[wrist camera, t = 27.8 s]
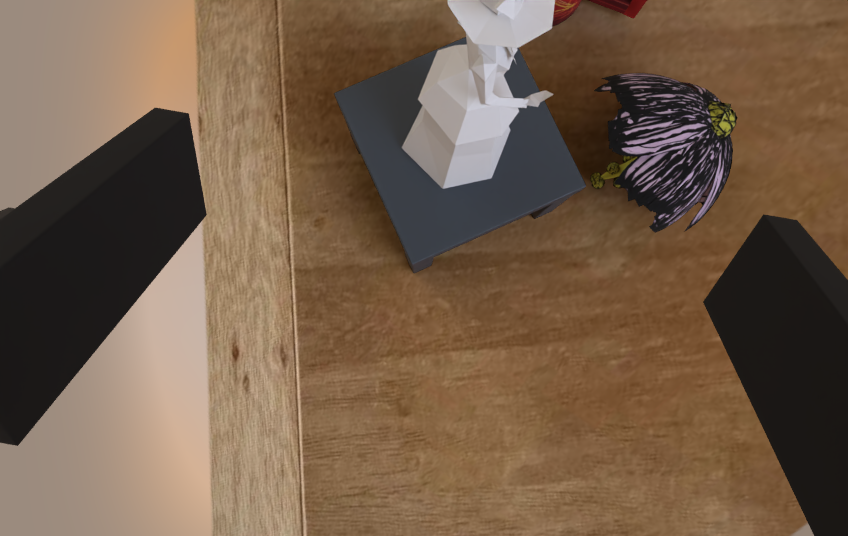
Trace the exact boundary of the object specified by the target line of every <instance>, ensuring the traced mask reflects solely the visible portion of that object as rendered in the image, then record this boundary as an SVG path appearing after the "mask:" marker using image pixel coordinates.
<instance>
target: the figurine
mask: <svg viewBox="0 0 848 536" xmlns="http://www.w3.org/2000/svg"><path fill="white" fill-rule="evenodd" d="M554 5H555V0H448V6H449V7H450V9H451V10H452V12H453V13H454V15H455V16H456V18H457V19H458V24H460V25H461V26H462V27H463V28H464V30H465V31H466V40H467V44H466V45H454V46H451V47H448V48H444V49H441V50H438V51H437V53H436V56H435V58H434V61H433V63H432V66H431V68H430V71H429V73H428V75H427V78H426V80H425V83H424V85H423V88H422V90H421V93H420V95H419V98H418V100H419V101H420V103H421V104H422V105H423V106H422V108H421V110H420V112H419V114H418V116H417V118H416V120H415V122H414V124H413V126H412V128H411V130H410V132H409V134H408V136H407V138H406V140H405V142H404V144H403V146H402V149H403V150H404V151H405V152H406V153H407V154H408V155H409V156H410V157H411V158H412V159H413V160H414V161H415V162H416V163H417V164H418V165H419V166H420V167H421V168H422V169H423V170H424V171H425V172H426V173H427V174H428V175H429V176H430V177H431V178H432V179H433V180H434V181H435V182H436V183H437V184H438V185H439V186H440V187H441V188H442V189H445V188H449V187H454V186H458V185H463V184H468V183H472V182H477V181H481V180H486V179H491V178H492V176H493V173H494V171H495V168H496V166H497V163H498V161H499V158H500V156H501V153H502V150H503V148H504V145H505V143H506V140H507V138H508V135H509V133H510V128H509V125H510V123H511V122H512V121H513V119H514V118H515V116H516V115H517V114H518V112H519V109H518V108H527V105H529V106H535V107H538V106H539V104H540V102H542V101H544V100H545V99H547V98H549V97H550V96H552V95H554V94H552V93H550V92H548V91H546V90H545V91H541V92H538V93H535V94H531V95H530V96H528V97H526V98H524V99H522V98H513V96H512V93H511V91H510V89H509V87H508V84H507V82H506V80H505V77H504V74H505V72H506V71H507V70H509V69H510V66H511V63H512V60H513V59H514V55H515V53H516V52H517V50H518V49H517V48H518V47H520V46H522V45H524V44H526V43H527V42H529V41H531V40H533V39H534V38H536V37H538V36H540V35H542V34H543V33H545V32H547V31H549V30H550V29H552V22H553V14H554ZM514 61H515V59H514ZM515 63H516V61H515Z"/></svg>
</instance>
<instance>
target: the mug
mask: <svg viewBox="0 0 848 536" xmlns="http://www.w3.org/2000/svg"><path fill="white" fill-rule="evenodd" d="M589 1H591V2H594V3H597V4H599V5H602V6H604V7H607V8H609V9H612V10H615V11H617V12H620V13H622V14H624V15H626V16H629V17H631V18H635V16H636V15H637V13H638V12H639V11H640V9H641V8H642V7H643V5H644V4H645V2H646V1H647V0H589ZM580 2H581V0H555V5H554V14H553V22H552V26H555V25H558V24H559V23H561V22H563V21H565V20H566V19H567V18H568V17H569V16H571V15H572V14H573V13H574V11H575V10H576V9H577V7H578V6H579V4H580Z"/></svg>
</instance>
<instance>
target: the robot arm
mask: <svg viewBox="0 0 848 536" xmlns="http://www.w3.org/2000/svg"><path fill="white" fill-rule="evenodd" d="M206 215H207V214H206V209H205V203H204V197H203V192H202V186H201V180H200V175H199V169H198V163H197V158H196V152H195V147H194V141H193V135H192V129H191V124H190V118H189V114H188V113H183V112H177V111H171V110H165V109H160V108H154V109H153V110H151V111H150V112H149V113H147V114H146V115H144V116H143V117H142V118H140V119H139V120H137V121H136V122H135V123H133V124H132V125H130V126H129V127H128V128H126V129H125V130H124V131H122V132H121V133H119V134H118V135H117V136H115V137H114V138H112V139H111V140H110V141H108V142H107V143H105V144H104V145H103V146H101V147H100V148H99V149H97V150H96V151H94V152H93V153H92V154H90V155H89V156H87V157H86V158H85V159H83V160H82V161H80V162H79V163H78V164H76V165H75V166H73V167H72V168H71V169H69V170H68V171H67V172H65V173H64V174H62V175H61V176H60V177H58V178H57V179H55V180H54V181H53V182H52V183H50V184H49V185H47V186H46V187H45V188H43V189H42V190H40V191H39V192H37V193H36V194H35V195H33V196H32V197H30V198H29V199H28V200H26V201H25V202H24V203H22V204H21V205H19V206H18V207H17V208H15V209H14V208H7V209H5V210H2V211H0V443H6V444H12V445H17V446H18V445H19V444H20V442H21V441H22V440H23V439H24V438H25V436H26V435H27V434H28V433H29V431H30V430H31V429H32V428H33V426H34V425H35V424H36V423H37V422H38V420H39V419H40V418H41V417H42V416H43V414H44V413H45V412H46V411H47V409H48V408H49V407H50V406H51V405H52V403H53V402H54V401H55V400H56V398H57V397H58V396H59V395H60V394H61V392H62V391H63V390H64V389H65V387H66V386H67V385H68V384H69V383H70V381H71V380H72V379H73V378H74V376H75V375H76V374H77V373H78V372H79V370H80V369H81V368H82V367H83V365H84V364H85V363H86V362H87V361H88V359H89V358H90V357H91V356H92V354H93V353H94V352H95V351H96V350H97V348H98V347H99V346H100V345H101V343H102V342H103V341H104V340H105V339H106V337H107V336H108V335H109V334H110V332H111V331H112V330H113V329H114V328H115V326H116V325H117V324H118V323H119V321H120V320H121V319H122V318H123V317H124V315H125V314H126V313H127V312H128V310H129V309H130V308H131V307H132V306H133V304H134V303H135V302H136V301H137V299H138V298H139V297H140V296H141V294H142V293H143V292H144V291H145V290H146V288H147V287H148V286H149V285H150V284H151V282H152V281H153V280H154V279H155V277H156V276H157V275H158V274H159V273H160V271H161V270H162V269H163V268H164V266H165V265H166V264H167V263H168V262H169V260H170V259H171V258H172V257H173V255H174V254H175V253H176V252H177V251H178V249H179V248H180V247H181V246H182V244H183V243H184V242H185V241H186V240H187V238H188V237H189V236H190V235H191V233H192V232H193V231H194V230H195V228H196V227H197V226H198V225H199V224H200V222H201V221H202V220H203V219H204V218H205V216H206ZM703 303H704V305H705V307H706V309H707V311H708V313H709V315H710V317H711V319H712V322H713V324H714V326H715V328H716V330H717V332H718V334H719V336H720V338H721V341H722V343H723V345H724V347H725V349H726V351H727V353H728V355H729V357H730V359H731V362H732V364H733V366H734V368H735V370H736V372H737V374H738V376H739V378H740V380H741V383H742V385H743V387H744V389H745V391H746V393H747V395H748V397H749V399H750V402H751V404H752V406H753V408H754V410H755V412H756V414H757V416H758V418H759V420H760V423H761V425H762V427H763V429H764V431H765V433H766V435H767V437H768V439H769V441H770V444H771V446H772V448H773V450H774V452H775V454H776V456H777V458H778V460H779V463H780V465H781V467H782V469H783V471H784V473H785V475H786V477H787V479H788V481H789V484H790V486H791V488H792V490H793V492H794V494H795V496H796V498H797V500H798V502H799V505H800V507H801V509H802V511H803V513H804V515H805V517H806V519H807V521H808V524H809V525H810V528H811V530H812V532H813V534H814V536H848V280H847V279H846V278H845V276H844V275H843V274H842V273H841V272H840V270H839V269H838V268H837V267H836V266H835V265H834V263H833V262H832V261H831V260H830V259H829V257H828V256H827V255H826V254H825V253H824V252H823V250H822V249H821V248H820V247H819V246H818V244H817V243H816V242H815V241H814V240H813V239H812V237H811V236H810V235H809V234H808V233H807V231H806V230H805V229H804V228H803V227H802V226H801V224H800V223H799V222H798V221H797V220H792V219H787V218H781V217H775V216H769V215H763V216H762V217H761V219H760V220H759V222H758V223H757V225H756V226H755V228H754V229H753V231H752V232H751V233H750V235H749V236H748V238H747V239H746V241H745V242H744V244H743V245H742V246H741V248H740V249H739V251H738V252H737V254H736V255H735V257H734V258H733V260H732V261H731V262H730V264H729V265H728V267H727V268H726V270H725V271H724V273H723V274H722V276H721V277H720V278H719V280H718V281H717V283H716V284H715V286H714V287H713V289H712V290H711V291H710V293H709V294H708V296H707V297H706V299H705V300H704V302H703Z"/></svg>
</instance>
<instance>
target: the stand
mask: <svg viewBox="0 0 848 536" xmlns="http://www.w3.org/2000/svg"><path fill="white" fill-rule="evenodd" d="M466 44H467V40H466V37H465V38H462V39H460V40H458V41H455V42H453V43H451V44H448V45H446V46H444V47H441V48H439V49H437V50H434V51H432V52H430V53H427V54H425V55H423V56H420V57H418V58H416V59H413V60H411V61H408V62H406V63H404V64H401V65H399V66H397V67H394V68H392V69H390V70H387V71H385V72H383V73H380V74H378V75H376V76H373V77H371V78H369V79H366V80H364V81H362V82H359V83H357V84H355V85H352V86H350V87H348V88H345V89H343V90H341V91H338V92H336V93H334V95H335V97H336V100H337V103H338V105H339V107H340V109H341V111H342V114H343V116H344V118H345V120H346V123H347V126H348V128H349V131H350V134H351V137H352V139H353V141H354V143H355V145H356V148H357V150H358V152H359V154H361V156H362V158H363V160H364V162H365V164H366V167H367V169H368V171H369V173H370V175H371V178H372V180H373V182H374V184H375V186H376V189H377V191H378V193H379V195H380V197H381V200H382V202H383V204H384V206H385V208H386V211H387V213H388V215H389V217H390V219H391V222H392V224H393V226H394V228H395V230H396V233H397V235H398V237H399V239H400V242H401V244H402V246H403V248H404V251H405V255H406V258H407V260H408V262H409V265H410V267H411V269H412V271H413V273H416V272H418V271H420V270H423V269H425V268H427V267H429V266H431V265H432V262H433V258H434V257H435V256H438V255H440V254H442V253H444V252H447V251H449V250H451V249H453V248H455V247H458V246H460V245H462V244H464V243H467V242H469V241H471V240H473V239H475V238H478V237H480V236H482V235H484V234H487V233H489V232H491V231H493V230H495V229H498V228H500V227H502V226H504V225H507V224H509V223H511V222H513V221H515V220H518V219H520V218H522V217H524V216H527V215H529V214H531V213H532V215H533V217H534V219H536V218H538V217H540V216H542V215H544V214H547V213H549V212H551V211H553V210H554V209H555V208H556V207H558V206H559V205H560V204H562V203H563V202H564V201H565V200H567V199H568V198H569V197H571V196H572V195H573V194H575V193H577V192H580V191H581V190H582V189H584V188H585V187H586V184H585V182H584V180H583V178H582V176H581V174H580V172H579V170H578V168H577V166H576V164H575V162H574V160H573V158H572V156H571V154H570V152H569V150H568V148H567V146H566V144H565V142H564V140H563V138H562V136H561V134H560V132H559V130H558V127H557V125H556V123H555V121H554V119H553V117H552V115H551V113H550V111H549V109H548V107H547V105H546V103H545V101H542V102H540V104H539V106H538V107H535V106H529V105H527V108H518V109H519V112H518V114H517V115H516V116H515V118H514V119H513V121H512V122H511V123H510V125H509V128H510V133H509V135H508V138H507V140H506V143H505V145H504V148H503V150H502V153H501V156H500V158H499V161H498V163H497V166H496V168H495V171H494V173H493V176H492V178H491V179H486V180H481V181H477V182H472V183H468V184H463V185H458V186H454V187H449V188H445V189H442V188H441V187H440V186H439V185H438V184H437V183H436V182H435V181H434V180H433V179H432V178H431V177H430V176H429V175H428V174H427V173H426V172H425V171H424V170H423V169H422V168H421V167H420V166H419V165H418V164H417V163H416V162H415V161H414V160H413V159H412V158H411V157H410V156H409V155H408V154H407V153H406V152H405V151H404V150H403V149H402V146H403V144H404V142H405V140H406V138H407V136H408V134H409V132H410V130H411V128H412V126H413V124H414V122H415V120H416V118H417V116H418V114H419V112H420V110H421V108H422V106H423V105H422V104H421V103H420V101H419V100H418V98H419V95H420V93H421V90H422V88H423V85H424V83H425V80H426V78H427V75H428V73H429V71H430V68H431V66H432V63H433V61H434V58H435V56H436V53H437V51H438V50H441V49H444V48H448V47H451V46H454V45H466ZM517 49H518V50H517V52H516V53H515V55H514V59H515V61H516V63H515V61H514V59H513V60H512V63H511V66H510V69H509V70H507V71H506V72H505V74H504V77H505V80H506V82H507V84H508V87H509V89H510V91H511V93H512V96H513V98H522V99H524V98H526V97H528V96H530V95H531V94H535V93H538V92H540V91H539V89H538V87H537V85H536V83H535V81H534V79H533V77H532V75H531V73H530V71H529V69H528V66H527V64H526V62H525V60H524V58H523V56H522V54H521V52H520V50H519V48H517Z"/></svg>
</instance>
